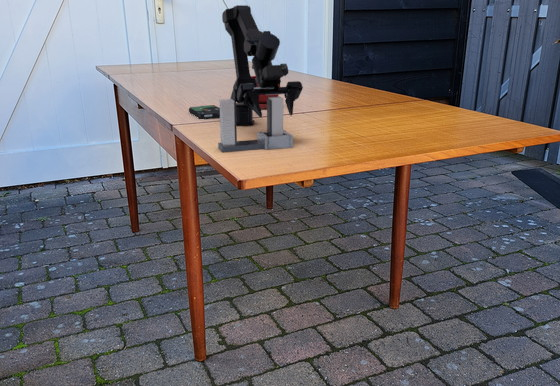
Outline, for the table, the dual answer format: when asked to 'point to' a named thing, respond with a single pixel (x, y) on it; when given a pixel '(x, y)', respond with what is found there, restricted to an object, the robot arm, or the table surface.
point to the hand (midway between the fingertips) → (276, 115)
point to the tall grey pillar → (275, 116)
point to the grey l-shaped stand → (262, 142)
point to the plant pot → (264, 98)
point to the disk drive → (206, 112)
